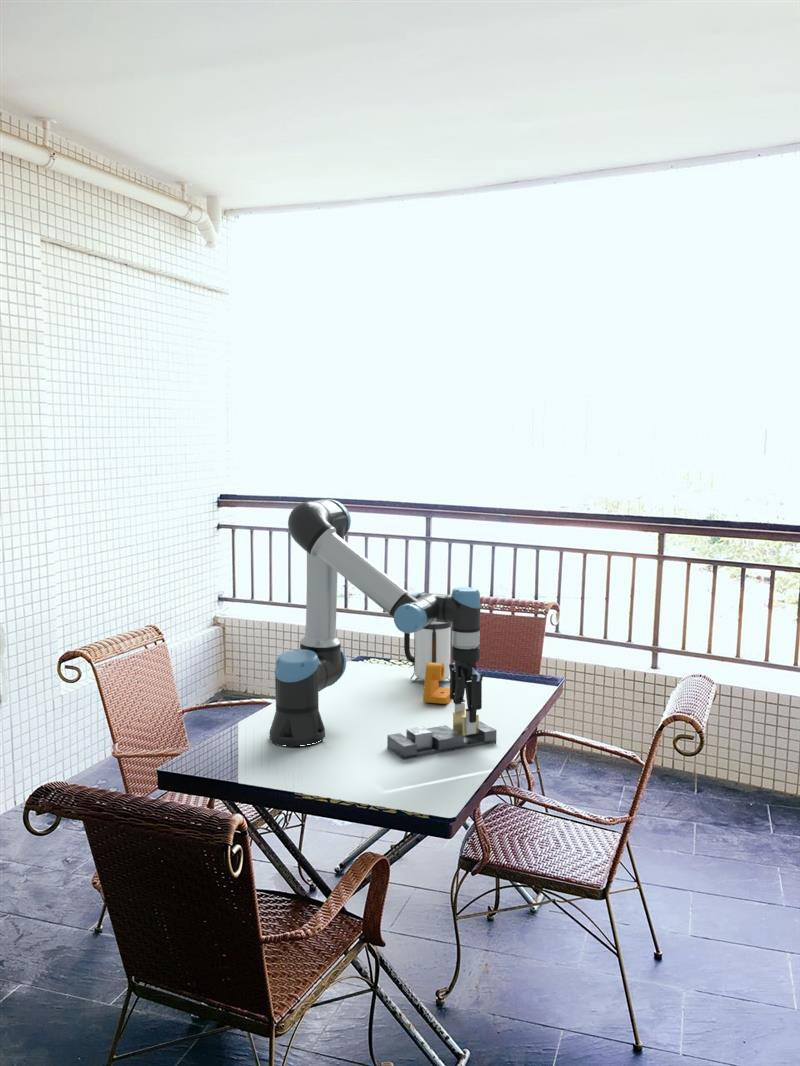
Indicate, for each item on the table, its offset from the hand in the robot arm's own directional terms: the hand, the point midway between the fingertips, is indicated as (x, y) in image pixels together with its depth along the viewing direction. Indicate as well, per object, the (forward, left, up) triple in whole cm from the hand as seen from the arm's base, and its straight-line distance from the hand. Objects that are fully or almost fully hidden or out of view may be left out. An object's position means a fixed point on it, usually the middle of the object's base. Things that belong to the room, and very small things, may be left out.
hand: (465, 730), depth 233 cm
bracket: (+13, +37, -4) cm, 39 cm away
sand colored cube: (0, 0, 0) cm, 0 cm away
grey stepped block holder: (-7, 0, -4) cm, 8 cm away
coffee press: (+21, +58, -4) cm, 62 cm away
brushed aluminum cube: (-14, 0, -3) cm, 14 cm away
